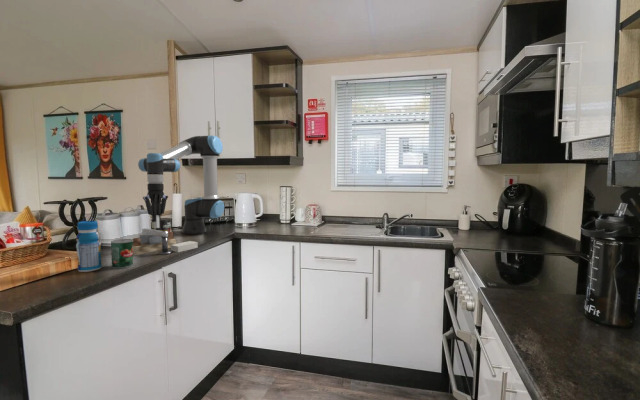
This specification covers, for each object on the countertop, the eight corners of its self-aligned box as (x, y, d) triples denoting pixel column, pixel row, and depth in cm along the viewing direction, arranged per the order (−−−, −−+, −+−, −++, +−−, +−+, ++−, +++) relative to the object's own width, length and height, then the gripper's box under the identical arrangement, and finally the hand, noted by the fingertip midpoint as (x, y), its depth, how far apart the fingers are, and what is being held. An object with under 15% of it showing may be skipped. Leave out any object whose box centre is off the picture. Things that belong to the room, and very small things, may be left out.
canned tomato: (130, 267, 138) (129, 242, 137) (109, 269, 135) (108, 243, 134) (135, 262, 145) (134, 238, 144) (115, 263, 143) (114, 239, 142)
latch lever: (169, 236, 162) (169, 231, 162) (163, 237, 159) (163, 232, 159) (147, 232, 171) (146, 228, 171) (141, 233, 168) (141, 229, 168)
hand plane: (169, 245, 181) (168, 231, 180) (176, 246, 178) (175, 232, 177) (129, 253, 162) (129, 237, 161) (136, 254, 159) (136, 238, 158)
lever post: (166, 251, 166) (166, 235, 165) (174, 252, 163) (173, 236, 163) (155, 253, 161) (155, 237, 160) (163, 255, 158) (162, 238, 157)
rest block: (190, 246, 178) (190, 241, 178) (197, 247, 175) (197, 242, 175) (170, 250, 168) (170, 245, 167) (178, 252, 165) (178, 246, 164)
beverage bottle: (87, 273, 129) (85, 223, 128) (72, 271, 132) (69, 222, 130) (107, 267, 137) (104, 220, 136) (91, 265, 140) (89, 220, 138)
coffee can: (175, 241, 190) (175, 218, 188) (163, 245, 179) (163, 220, 178) (160, 241, 192) (159, 217, 190) (147, 244, 182) (146, 219, 180)
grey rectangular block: (158, 239, 176) (157, 232, 175) (167, 241, 172) (167, 233, 171) (140, 243, 167) (139, 235, 167) (149, 244, 163) (149, 237, 163)
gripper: (162, 182, 176) (163, 225, 178) (139, 183, 165) (140, 228, 166) (171, 183, 172) (172, 226, 174) (147, 183, 161) (149, 230, 163)
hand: (156, 227), depth 170 cm, fingers closed
